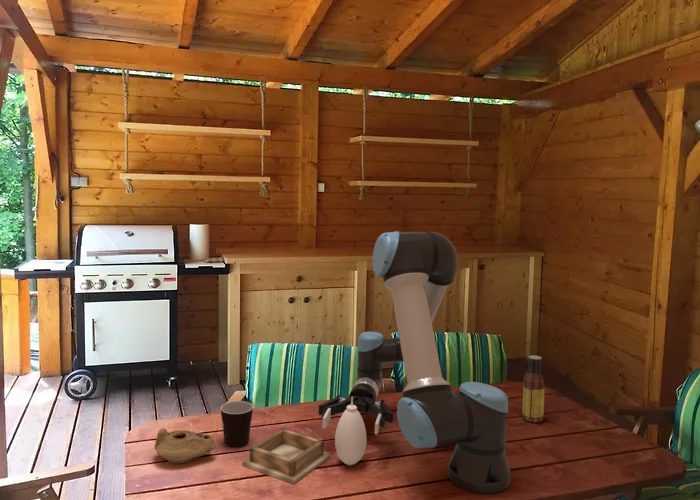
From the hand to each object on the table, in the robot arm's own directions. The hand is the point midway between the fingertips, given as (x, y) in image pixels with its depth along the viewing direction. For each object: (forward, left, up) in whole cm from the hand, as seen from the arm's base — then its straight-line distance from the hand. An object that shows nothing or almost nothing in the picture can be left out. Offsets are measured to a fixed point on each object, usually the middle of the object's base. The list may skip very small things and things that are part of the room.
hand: (349, 426), depth 146 cm
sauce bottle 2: (0, 0, -10) cm, 10 cm away
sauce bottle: (-33, -55, -10) cm, 65 cm away
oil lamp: (+36, +21, -10) cm, 43 cm away
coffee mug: (+32, +6, -10) cm, 34 cm away
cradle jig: (+14, +8, -10) cm, 19 cm away
